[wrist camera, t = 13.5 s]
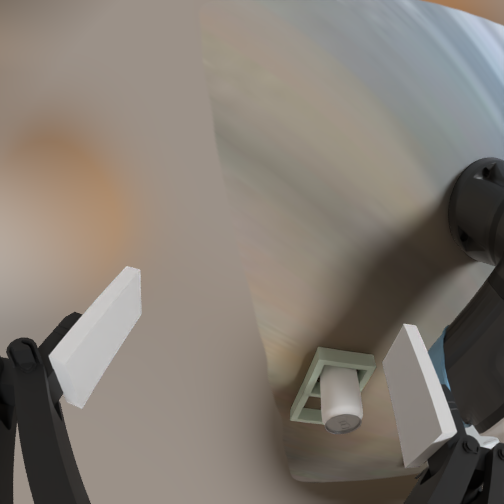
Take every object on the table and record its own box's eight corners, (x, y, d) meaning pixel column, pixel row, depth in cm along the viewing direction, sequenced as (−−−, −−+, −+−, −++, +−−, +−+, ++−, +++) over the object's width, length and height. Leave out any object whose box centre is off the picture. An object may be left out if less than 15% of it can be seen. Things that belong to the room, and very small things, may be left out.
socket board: (374, 354, 48) (377, 367, 46) (338, 414, 56) (339, 425, 54) (318, 346, 49) (319, 359, 46) (290, 408, 57) (289, 420, 54)
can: (349, 352, 49) (358, 408, 38) (360, 374, 51) (368, 428, 40) (314, 364, 51) (315, 420, 40) (326, 385, 53) (329, 439, 42)
